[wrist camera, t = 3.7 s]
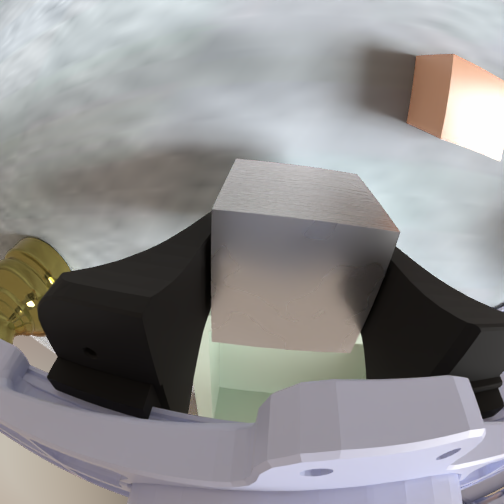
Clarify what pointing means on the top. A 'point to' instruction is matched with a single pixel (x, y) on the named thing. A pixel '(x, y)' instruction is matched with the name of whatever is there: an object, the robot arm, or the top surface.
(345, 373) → the tote
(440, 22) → the top surface
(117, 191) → the top surface
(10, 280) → the brass calibration weight
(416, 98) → the terracotta box
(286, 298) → the steel block
